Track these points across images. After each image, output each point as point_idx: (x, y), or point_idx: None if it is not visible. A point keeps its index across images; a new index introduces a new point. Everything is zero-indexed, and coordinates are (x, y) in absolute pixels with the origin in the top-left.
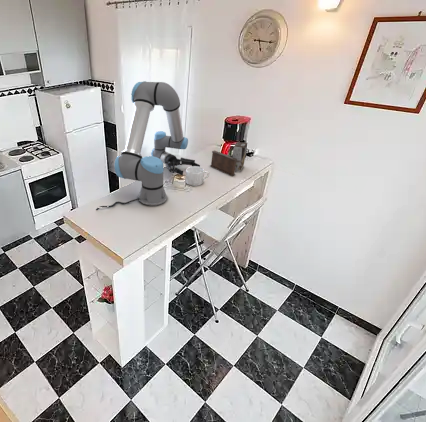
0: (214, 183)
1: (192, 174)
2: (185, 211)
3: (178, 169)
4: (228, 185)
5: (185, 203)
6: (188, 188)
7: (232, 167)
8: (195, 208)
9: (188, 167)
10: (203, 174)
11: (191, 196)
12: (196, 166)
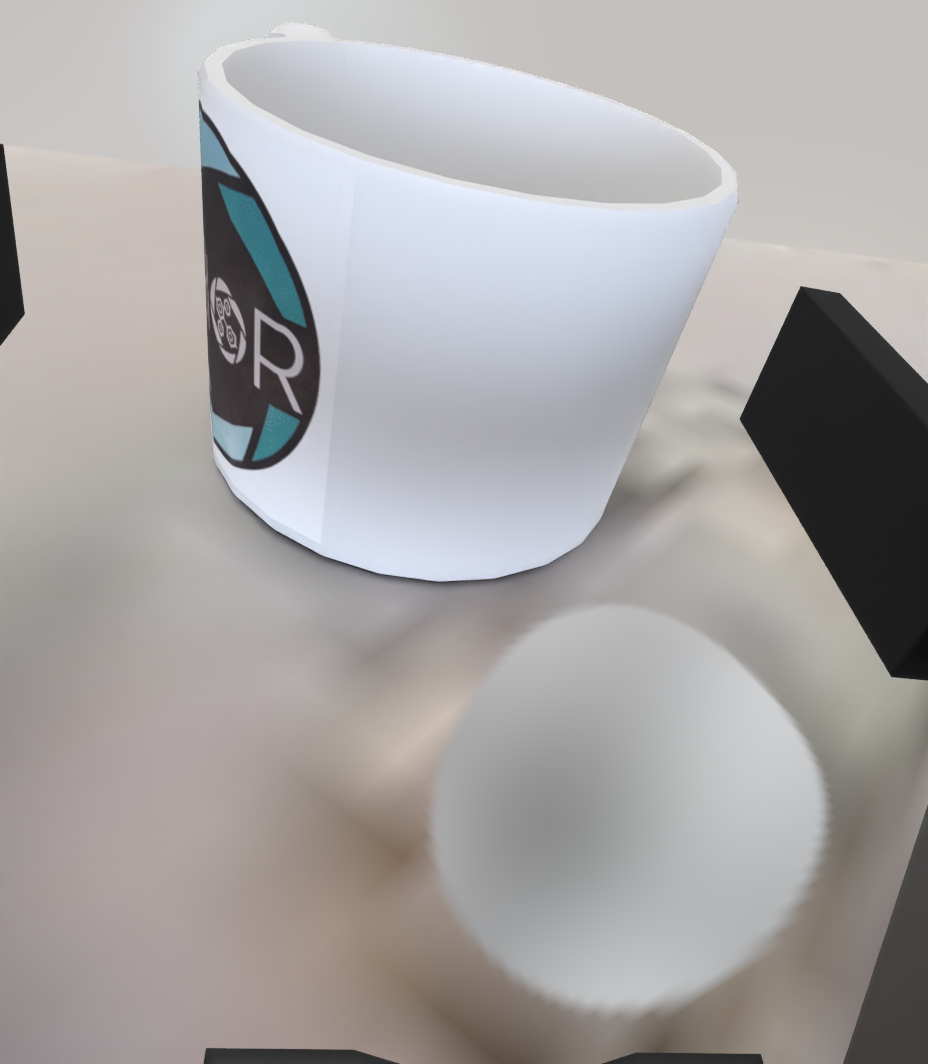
0: (150, 268)
1: (654, 149)
2: (919, 283)
3: (926, 391)
4: (63, 177)
5: (876, 318)
6: (671, 419)
7: None
8: (801, 255)
9: (556, 200)
10: (347, 134)
11: (740, 328)
12: (259, 110)
